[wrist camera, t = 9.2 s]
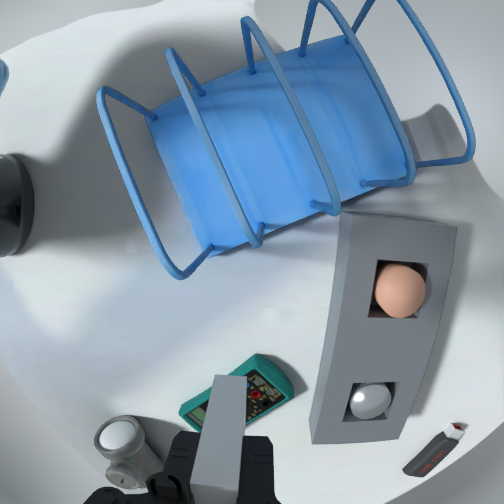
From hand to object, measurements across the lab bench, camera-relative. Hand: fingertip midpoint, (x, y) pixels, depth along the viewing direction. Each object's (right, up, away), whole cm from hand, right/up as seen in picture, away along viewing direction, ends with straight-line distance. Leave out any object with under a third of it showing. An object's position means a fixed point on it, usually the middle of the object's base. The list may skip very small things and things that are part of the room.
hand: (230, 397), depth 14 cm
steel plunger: (+15, -10, +21) cm, 28 cm away
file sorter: (+4, +19, +18) cm, 27 cm away
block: (+16, -3, +21) cm, 26 cm away
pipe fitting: (-17, -23, +28) cm, 40 cm away
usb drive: (+32, -27, +25) cm, 49 cm away
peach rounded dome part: (+16, +4, +18) cm, 24 cm away
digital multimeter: (-1, -12, +25) cm, 28 cm away
